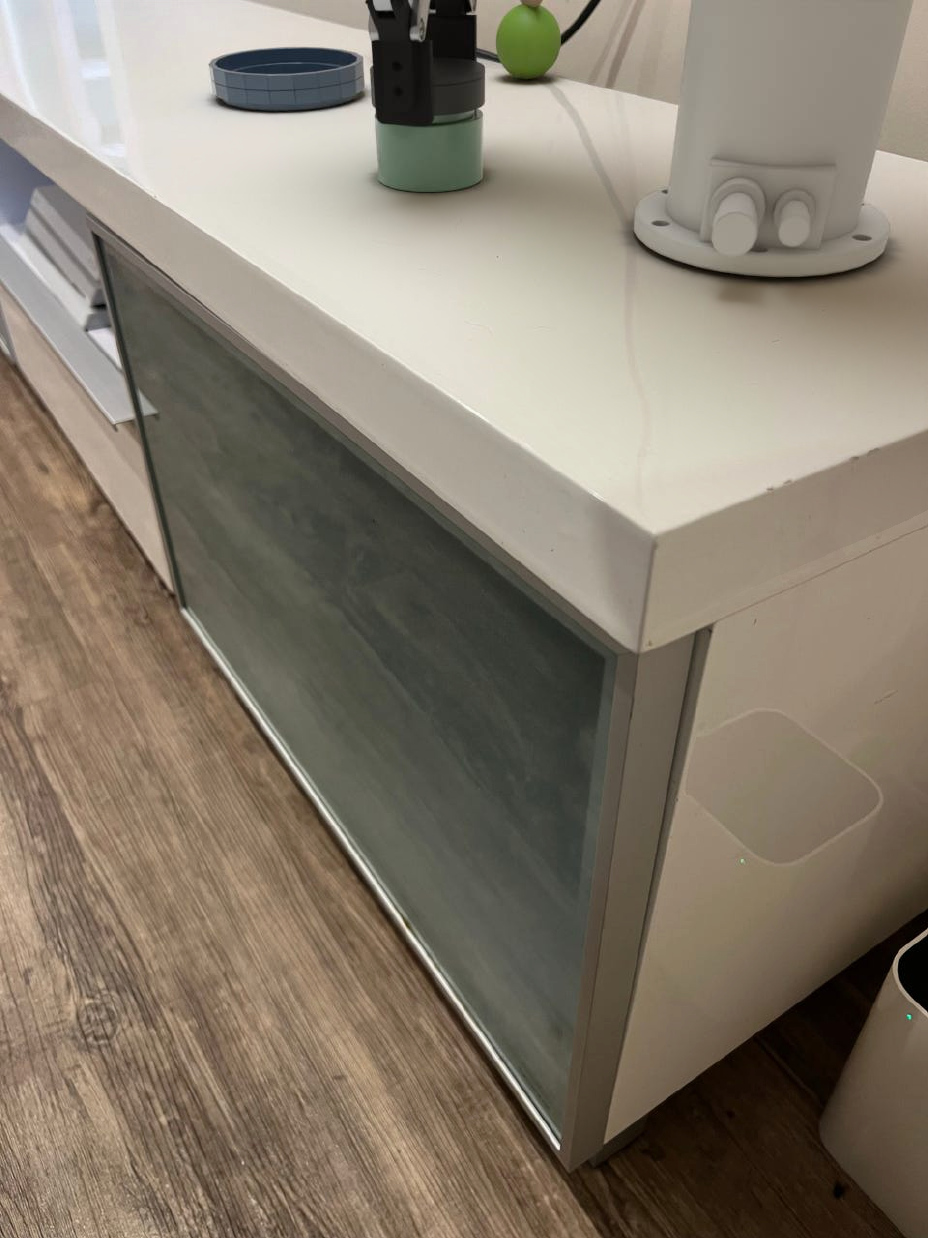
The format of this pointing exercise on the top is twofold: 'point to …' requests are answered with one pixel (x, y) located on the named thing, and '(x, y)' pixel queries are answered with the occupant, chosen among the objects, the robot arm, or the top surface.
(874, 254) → the robot arm
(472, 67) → the lid
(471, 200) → the top surface
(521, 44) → the green apple
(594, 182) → the top surface
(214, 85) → the dish
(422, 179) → the jar
